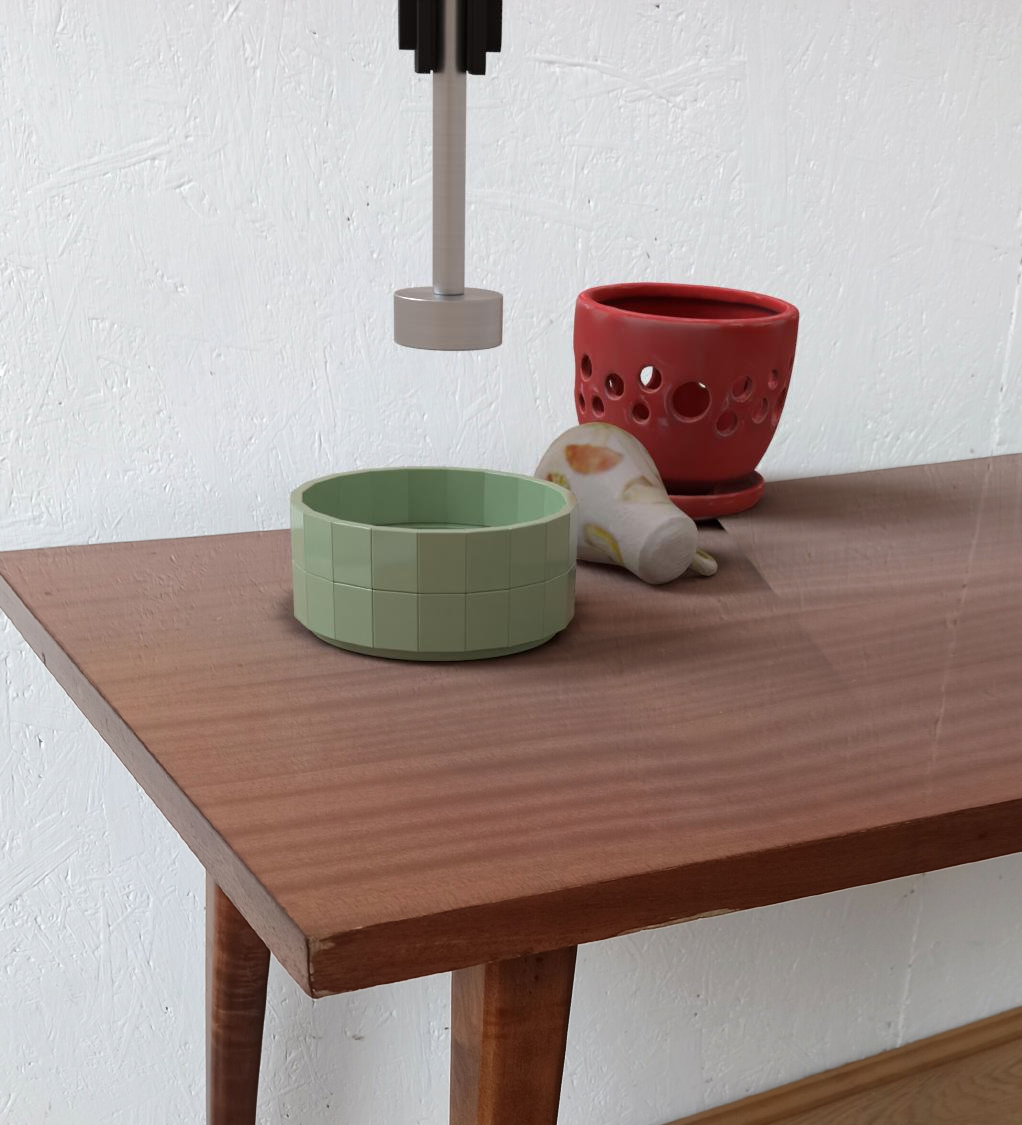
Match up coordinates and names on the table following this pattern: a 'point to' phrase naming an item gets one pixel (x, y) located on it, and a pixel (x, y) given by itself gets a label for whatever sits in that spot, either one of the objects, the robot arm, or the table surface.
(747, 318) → the flower pot
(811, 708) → the table surface
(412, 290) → the ball topped metal stand
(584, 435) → the mug
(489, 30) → the robot arm
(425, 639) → the bowl
